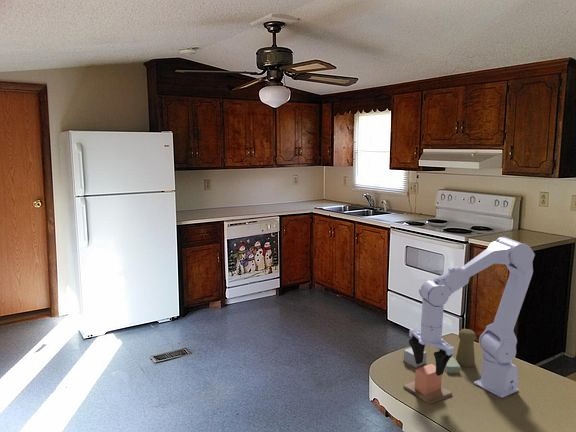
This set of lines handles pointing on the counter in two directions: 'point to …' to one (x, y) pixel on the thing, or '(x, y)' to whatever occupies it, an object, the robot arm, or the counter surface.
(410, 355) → the white square brick
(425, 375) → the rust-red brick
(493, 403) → the counter surface
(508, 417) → the counter surface
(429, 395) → the walnut board
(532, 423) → the counter surface
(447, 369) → the flat olive brick
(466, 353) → the cork
